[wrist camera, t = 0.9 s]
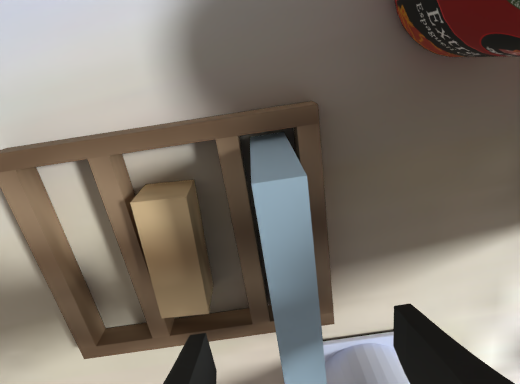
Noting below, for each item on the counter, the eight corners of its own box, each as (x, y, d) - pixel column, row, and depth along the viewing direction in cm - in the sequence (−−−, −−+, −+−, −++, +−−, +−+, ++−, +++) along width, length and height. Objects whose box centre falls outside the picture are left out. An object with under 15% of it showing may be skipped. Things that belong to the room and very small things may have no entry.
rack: (328, 307, 24) (334, 323, 22) (94, 340, 24) (84, 359, 22) (312, 101, 18) (317, 104, 17) (6, 148, 18) (-16, 155, 17)
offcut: (213, 283, 23) (209, 313, 20) (172, 287, 23) (161, 318, 20) (194, 178, 20) (185, 197, 17) (146, 182, 20) (130, 202, 17)
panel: (302, 293, 23) (328, 401, 16) (275, 297, 23) (288, 407, 16) (283, 131, 19) (306, 175, 11) (249, 136, 19) (251, 184, 11)
